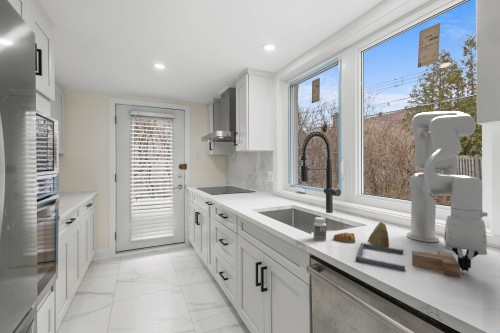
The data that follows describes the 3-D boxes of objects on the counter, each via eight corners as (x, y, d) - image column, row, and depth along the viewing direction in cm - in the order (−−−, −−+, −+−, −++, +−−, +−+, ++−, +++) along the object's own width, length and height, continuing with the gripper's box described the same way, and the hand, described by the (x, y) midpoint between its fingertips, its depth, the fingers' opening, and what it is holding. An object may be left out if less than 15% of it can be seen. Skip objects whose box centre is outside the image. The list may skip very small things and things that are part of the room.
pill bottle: (328, 240, 112) (329, 219, 112) (317, 241, 110) (318, 220, 110) (321, 237, 117) (321, 216, 117) (311, 237, 116) (311, 217, 115)
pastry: (334, 242, 110) (334, 233, 110) (332, 237, 117) (332, 230, 117) (356, 243, 108) (356, 235, 108) (353, 239, 115) (353, 231, 115)
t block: (411, 257, 93) (411, 247, 93) (451, 264, 86) (452, 253, 86) (413, 269, 82) (414, 257, 82) (459, 278, 76) (460, 265, 76)
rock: (396, 246, 98) (395, 236, 107) (382, 228, 100) (382, 220, 108) (372, 257, 103) (373, 247, 112) (359, 240, 105) (360, 231, 113)
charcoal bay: (361, 246, 104) (361, 243, 104) (402, 253, 97) (402, 249, 97) (355, 261, 89) (355, 257, 88) (405, 271, 81) (405, 266, 81)
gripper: (492, 214, 79) (490, 270, 80) (435, 209, 87) (434, 260, 87) (501, 219, 73) (499, 279, 73) (439, 213, 80) (437, 268, 81)
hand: (464, 269), depth 80 cm, fingers closed
